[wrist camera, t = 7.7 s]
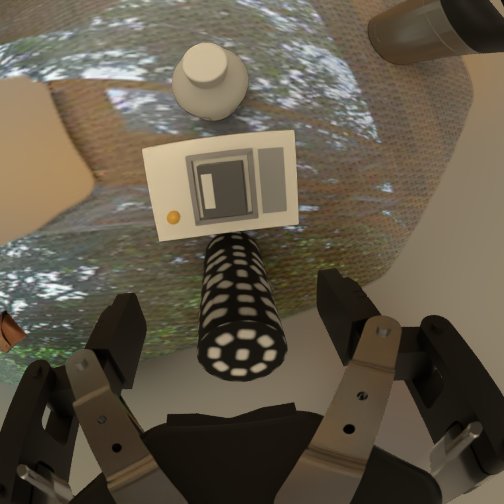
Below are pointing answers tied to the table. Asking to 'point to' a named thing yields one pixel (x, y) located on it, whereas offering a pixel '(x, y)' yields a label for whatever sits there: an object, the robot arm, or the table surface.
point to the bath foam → (210, 82)
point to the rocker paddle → (222, 188)
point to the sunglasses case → (9, 332)
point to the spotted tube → (238, 312)
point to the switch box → (222, 150)
